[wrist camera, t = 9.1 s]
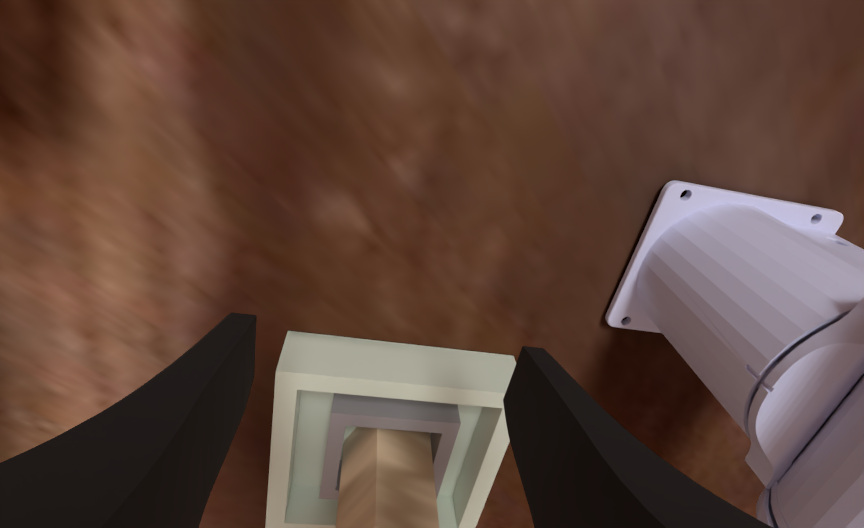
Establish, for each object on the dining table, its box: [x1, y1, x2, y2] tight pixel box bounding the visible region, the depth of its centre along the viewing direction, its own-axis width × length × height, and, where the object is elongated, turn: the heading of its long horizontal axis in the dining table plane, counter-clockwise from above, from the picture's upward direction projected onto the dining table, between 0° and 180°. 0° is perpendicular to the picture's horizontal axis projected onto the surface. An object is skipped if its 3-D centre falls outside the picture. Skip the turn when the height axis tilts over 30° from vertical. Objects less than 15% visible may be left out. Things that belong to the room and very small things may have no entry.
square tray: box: [265, 331, 516, 528], centre depth 27 cm, size 12×12×3 cm
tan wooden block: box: [336, 427, 439, 528], centre depth 24 cm, size 4×4×7 cm
